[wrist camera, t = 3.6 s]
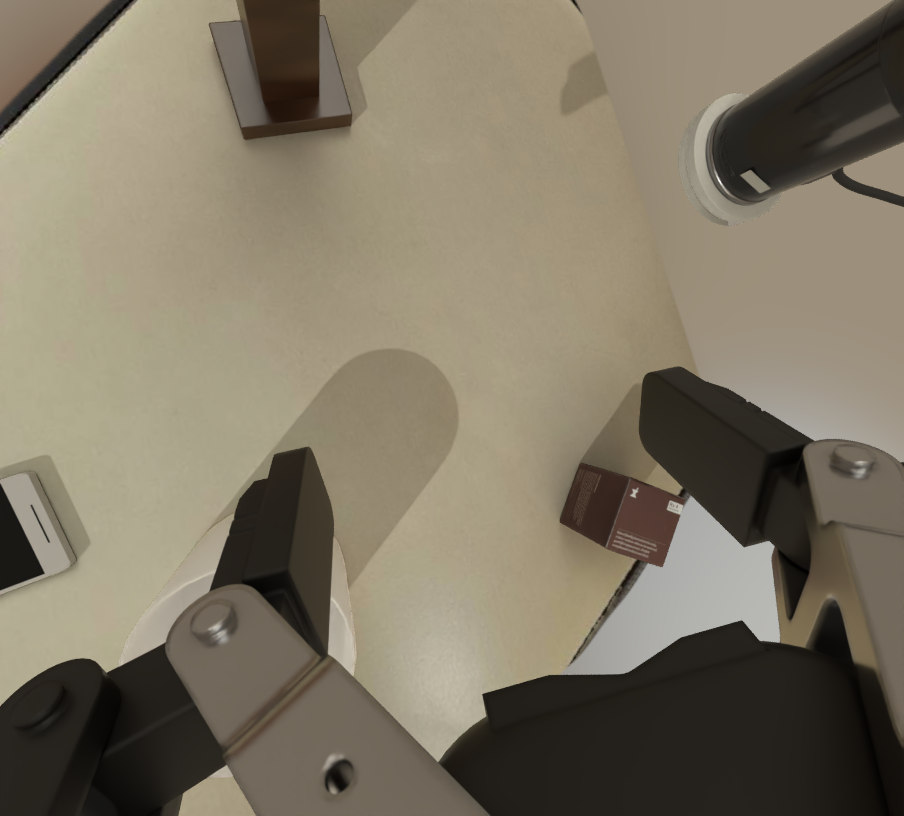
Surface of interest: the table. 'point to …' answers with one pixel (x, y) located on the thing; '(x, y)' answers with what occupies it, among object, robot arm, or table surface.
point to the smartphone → (29, 534)
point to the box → (622, 513)
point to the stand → (281, 68)
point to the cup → (197, 581)
